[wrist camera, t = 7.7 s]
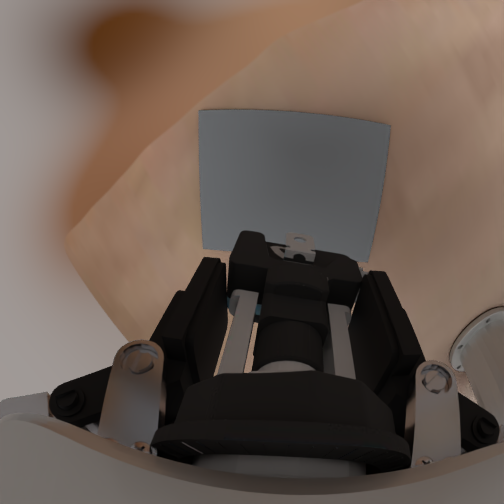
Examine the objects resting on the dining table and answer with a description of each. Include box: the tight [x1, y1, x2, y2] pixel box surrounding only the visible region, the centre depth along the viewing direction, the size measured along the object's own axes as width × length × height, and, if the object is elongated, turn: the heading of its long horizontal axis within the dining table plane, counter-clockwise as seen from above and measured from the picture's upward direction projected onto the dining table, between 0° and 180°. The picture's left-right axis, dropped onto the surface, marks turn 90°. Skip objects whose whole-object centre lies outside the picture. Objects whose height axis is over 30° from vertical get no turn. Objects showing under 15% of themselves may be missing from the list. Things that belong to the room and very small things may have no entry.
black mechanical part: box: [150, 230, 411, 478], centre depth 7 cm, size 7×5×10 cm
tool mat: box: [199, 110, 391, 262], centre depth 23 cm, size 16×13×1 cm
